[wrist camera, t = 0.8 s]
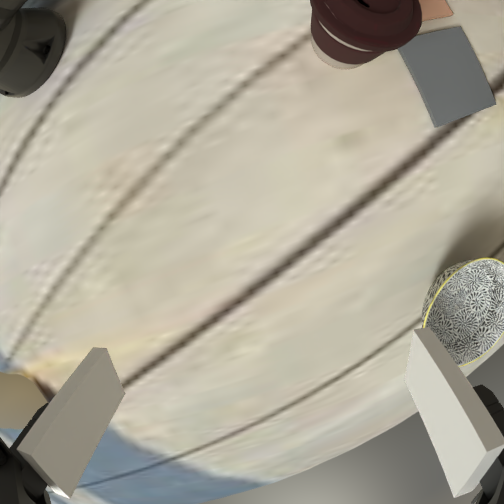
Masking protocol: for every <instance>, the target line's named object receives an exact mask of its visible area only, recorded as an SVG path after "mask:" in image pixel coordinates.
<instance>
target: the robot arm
mask: <svg viewBox="0 0 504 504" xmlns="http://www.w3.org/2000/svg"><path fill="white" fill-rule="evenodd" d="M26 1H27V0H0V93H1V94H2V95H4V96H8V97H17V98H20V97H25V96H27V95H29V94H31V93H33V92H34V91H36V90H37V89H38V88H39V87H40V86H41V85H42V84H43V83H44V82H45V81H46V80H47V78H48V77H49V76H50V74H51V73H52V71H53V70H54V68H55V66H56V65H57V63H58V61H59V58H60V56H61V53H62V50H63V47H64V43H65V37H66V27H65V23H64V20H63V18H62V17H61V16H60V15H59V14H58V13H56V12H54V11H52V10H50V9H47V8H21V7H22V6H23V5H24V4H25V2H26ZM404 381H405V383H406V385H407V387H408V389H409V391H410V393H411V396H412V398H413V400H414V402H415V404H416V406H417V409H418V411H419V413H420V415H421V418H422V420H423V422H424V424H425V427H426V429H427V431H428V433H429V435H430V438H431V441H432V443H433V445H434V448H435V450H436V453H437V455H438V458H439V460H440V462H441V465H442V467H443V470H444V472H445V475H446V478H447V480H448V483H449V486H450V488H451V491H452V494H453V497H454V498H456V497H458V496H461V495H463V494H466V493H468V492H470V491H473V490H474V488H475V487H476V486H477V485H478V483H479V482H480V483H481V486H482V490H481V491H480V492H479V493H478V494H477V496H476V497H475V498H474V499H473V501H472V502H471V503H472V504H474V503H475V502H476V500H477V502H476V504H504V408H503V407H502V405H501V404H500V403H499V401H498V399H497V398H496V397H495V395H494V394H493V392H492V391H491V390H489V389H488V388H486V387H485V386H483V385H479V386H476V387H472V386H471V384H470V383H469V381H468V380H467V379H466V377H465V376H464V374H463V373H462V371H461V370H460V368H459V367H458V366H457V364H456V363H455V361H454V360H453V358H452V357H451V356H450V354H449V353H448V352H447V350H446V349H445V347H444V346H443V345H442V343H441V342H440V341H439V339H438V338H437V337H436V335H435V334H434V333H433V331H432V330H431V329H430V327H426V328H421V329H415V330H413V335H412V341H411V347H410V353H409V358H408V364H407V369H406V374H405V378H404ZM124 395H125V392H124V389H123V387H122V385H121V382H120V380H119V378H118V375H117V373H116V371H115V368H114V366H113V363H112V361H111V358H110V356H109V353H108V350H107V348H94V347H93V348H92V350H91V351H90V352H89V353H88V355H87V356H86V357H85V358H84V360H83V361H82V362H81V363H80V365H79V366H78V367H77V368H76V370H75V371H74V372H73V373H72V375H71V376H70V377H69V379H68V380H67V381H66V382H65V384H64V385H63V386H62V388H61V389H60V390H59V392H58V393H57V394H56V395H55V397H54V398H53V399H52V401H51V402H50V403H46V404H45V405H44V406H42V407H41V408H40V409H38V411H37V412H36V413H35V415H34V416H33V417H32V420H30V421H29V423H28V424H27V426H26V427H25V428H24V429H23V431H22V432H21V433H20V435H19V436H18V438H17V439H16V440H15V442H14V443H13V445H12V446H11V447H10V448H8V447H7V445H6V444H5V443H4V442H3V440H2V439H1V438H0V504H51V501H50V497H49V494H48V492H47V491H46V490H45V489H46V487H47V485H48V486H49V487H50V488H51V489H52V490H53V491H54V492H55V493H57V494H59V495H62V496H64V497H67V498H71V496H72V494H73V492H74V490H75V488H76V486H77V484H78V482H79V480H80V478H81V476H82V474H83V472H84V470H85V468H86V466H87V464H88V462H89V461H90V459H91V457H92V455H93V453H94V451H95V449H96V447H97V445H98V443H99V441H100V439H101V438H102V436H103V434H104V432H105V430H106V428H107V426H108V424H109V423H110V421H111V419H112V417H113V415H114V413H115V411H116V410H117V408H118V406H119V404H120V402H121V401H122V399H123V397H124Z"/></svg>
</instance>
